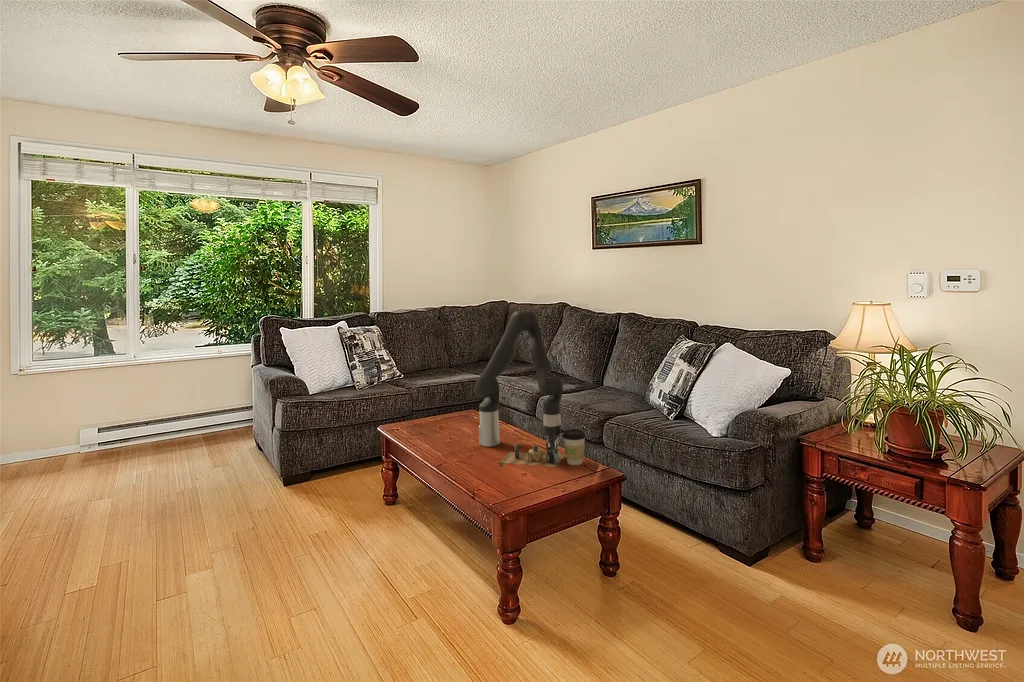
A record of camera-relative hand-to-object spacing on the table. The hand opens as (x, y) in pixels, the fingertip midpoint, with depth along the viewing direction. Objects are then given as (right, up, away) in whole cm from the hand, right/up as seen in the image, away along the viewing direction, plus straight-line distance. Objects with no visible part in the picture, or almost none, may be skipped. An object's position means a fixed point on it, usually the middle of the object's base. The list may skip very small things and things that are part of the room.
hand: (553, 460), depth 231 cm
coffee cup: (+9, -2, -2) cm, 10 cm away
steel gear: (0, 0, 0) cm, 0 cm away
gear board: (-9, -2, +3) cm, 10 cm away
